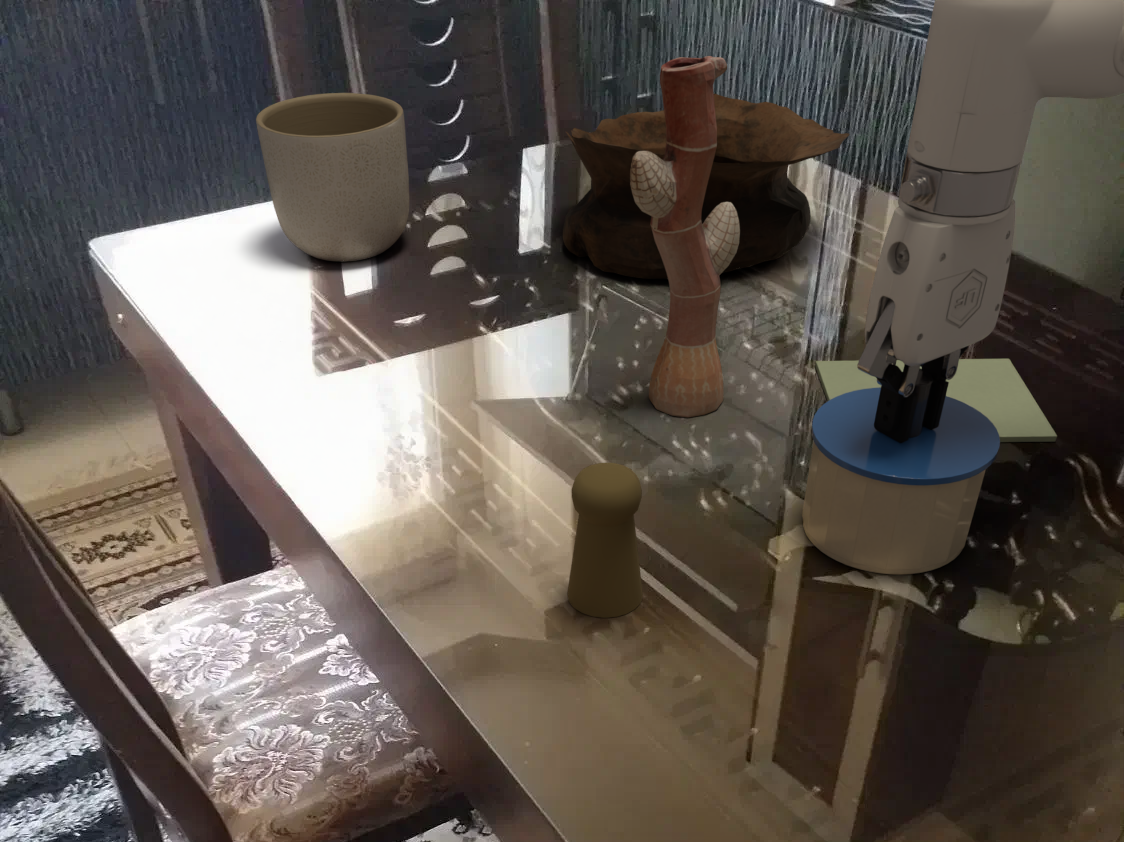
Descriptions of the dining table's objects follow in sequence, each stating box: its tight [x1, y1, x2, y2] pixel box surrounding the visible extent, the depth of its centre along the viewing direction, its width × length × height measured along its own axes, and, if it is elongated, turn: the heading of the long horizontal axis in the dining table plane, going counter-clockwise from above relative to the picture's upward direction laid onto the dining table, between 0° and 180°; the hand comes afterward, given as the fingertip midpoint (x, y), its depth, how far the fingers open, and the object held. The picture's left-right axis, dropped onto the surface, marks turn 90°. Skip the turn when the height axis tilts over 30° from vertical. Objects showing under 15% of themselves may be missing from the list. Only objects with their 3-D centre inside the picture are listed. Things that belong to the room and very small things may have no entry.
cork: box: [566, 461, 644, 619], centre depth 88 cm, size 6×6×11 cm
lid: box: [810, 370, 1001, 485], centre depth 90 cm, size 15×15×6 cm
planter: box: [255, 92, 410, 263], centre depth 138 cm, size 17×17×15 cm
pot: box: [801, 441, 987, 575], centre depth 95 cm, size 14×14×8 cm
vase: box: [630, 55, 740, 418], centre depth 104 cm, size 10×7×30 cm
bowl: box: [562, 93, 851, 280], centre depth 139 cm, size 34×33×15 cm
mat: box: [814, 358, 1058, 443], centre depth 113 cm, size 20×16×1 cm
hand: (905, 426), depth 91 cm, fingers closed on lid, 2 cm apart
